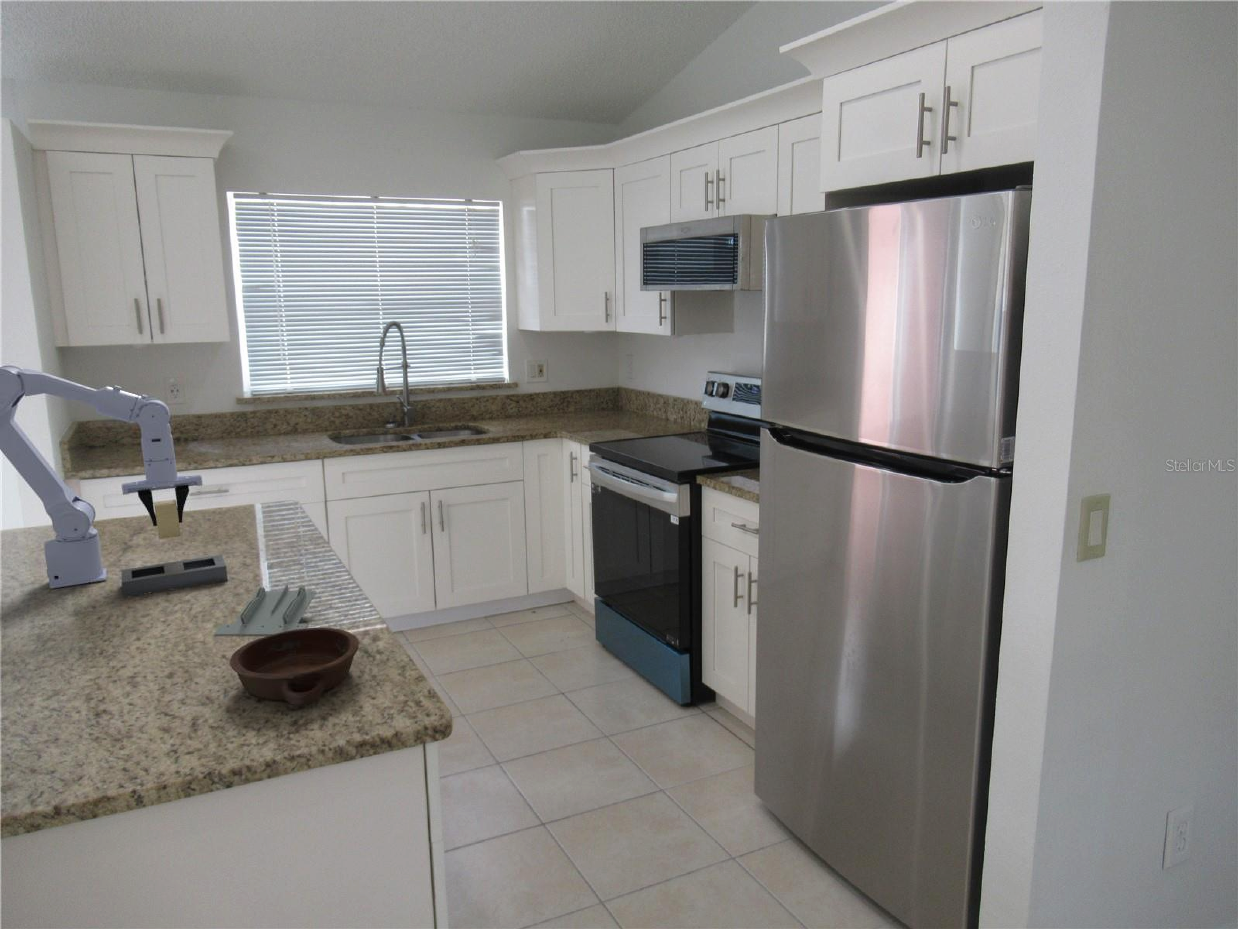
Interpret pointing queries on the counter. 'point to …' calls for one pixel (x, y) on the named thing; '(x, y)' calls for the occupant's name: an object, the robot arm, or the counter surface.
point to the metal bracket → (270, 613)
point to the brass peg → (167, 519)
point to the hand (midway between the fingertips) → (167, 523)
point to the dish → (295, 663)
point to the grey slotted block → (173, 575)
